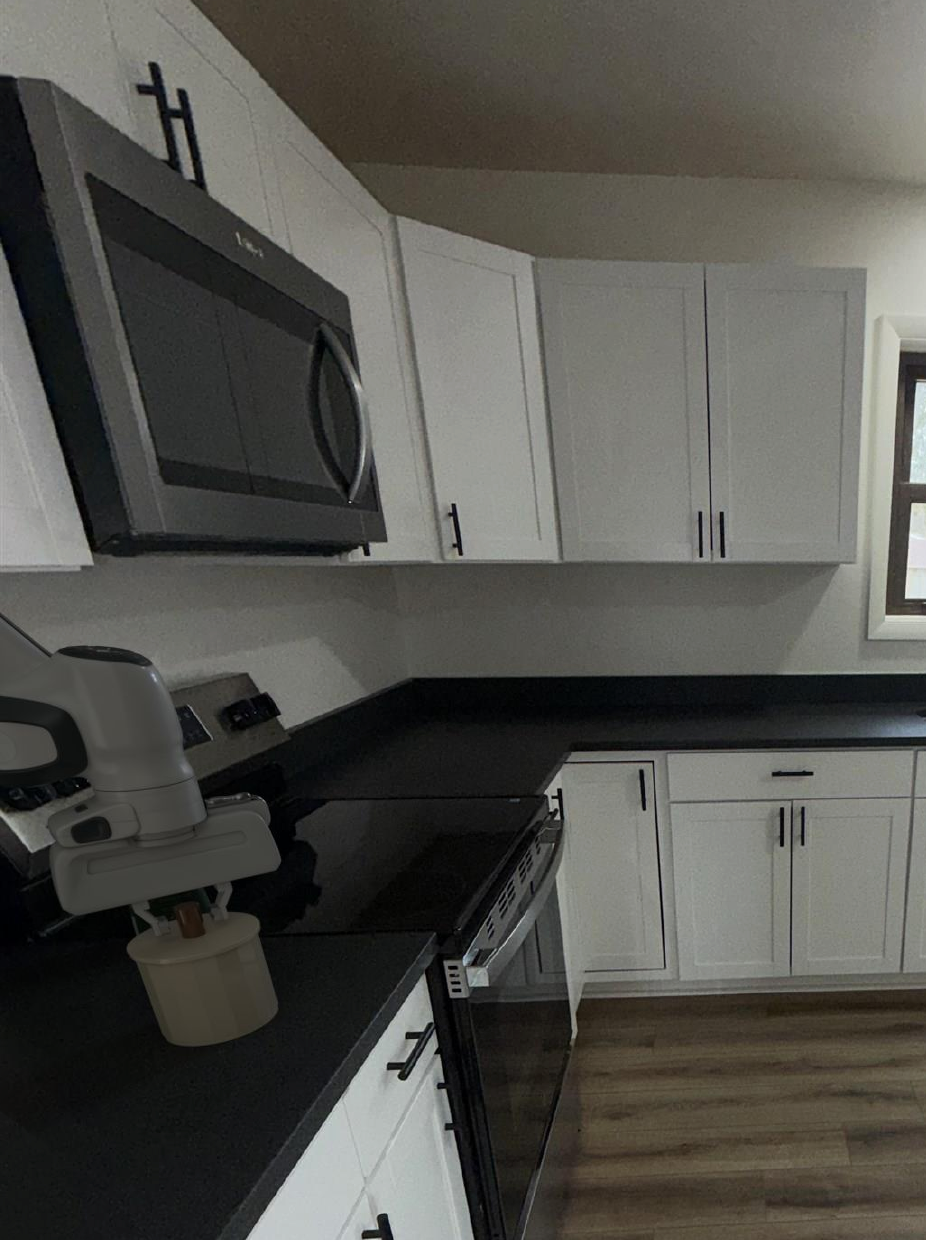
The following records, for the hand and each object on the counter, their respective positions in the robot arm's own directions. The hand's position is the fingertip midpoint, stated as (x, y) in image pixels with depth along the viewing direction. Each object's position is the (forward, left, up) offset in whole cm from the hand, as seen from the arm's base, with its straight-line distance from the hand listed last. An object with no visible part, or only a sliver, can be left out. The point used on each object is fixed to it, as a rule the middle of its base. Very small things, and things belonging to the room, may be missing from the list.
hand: (192, 926), depth 93 cm
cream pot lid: (0, 0, -2) cm, 2 cm away
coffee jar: (+2, +32, -12) cm, 34 cm away
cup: (0, 0, -12) cm, 12 cm away
